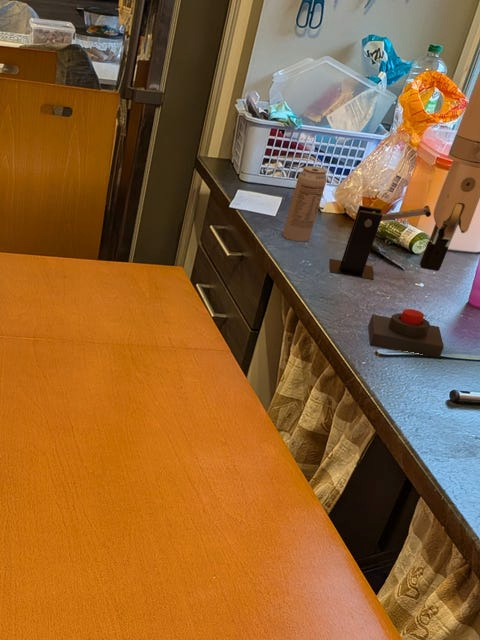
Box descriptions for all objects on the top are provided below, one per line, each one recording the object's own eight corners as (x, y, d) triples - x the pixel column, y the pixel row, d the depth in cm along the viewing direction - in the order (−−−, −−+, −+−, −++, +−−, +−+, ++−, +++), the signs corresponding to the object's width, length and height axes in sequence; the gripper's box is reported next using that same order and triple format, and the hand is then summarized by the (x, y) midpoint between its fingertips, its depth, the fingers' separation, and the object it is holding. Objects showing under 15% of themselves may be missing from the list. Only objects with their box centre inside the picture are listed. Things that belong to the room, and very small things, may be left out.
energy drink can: (307, 239, 211) (328, 168, 201) (308, 247, 207) (329, 174, 197) (281, 235, 212) (300, 163, 202) (281, 243, 207) (301, 170, 198)
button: (419, 320, 167) (423, 311, 166) (421, 327, 164) (425, 318, 163) (399, 317, 167) (402, 307, 166) (400, 324, 165) (404, 314, 163)
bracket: (370, 271, 197) (392, 208, 189) (372, 285, 191) (394, 220, 182) (328, 264, 199) (347, 200, 190) (327, 277, 192) (348, 212, 184)
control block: (434, 338, 171) (443, 316, 168) (439, 358, 163) (448, 336, 161) (368, 325, 173) (375, 304, 170) (369, 345, 165) (377, 323, 162)
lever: (428, 213, 186) (429, 201, 185) (430, 220, 183) (431, 207, 181) (360, 223, 191) (360, 211, 189) (360, 230, 187) (360, 217, 186)
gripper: (506, 166, 142) (455, 286, 153) (493, 145, 153) (447, 259, 165) (455, 157, 143) (409, 277, 155) (446, 137, 154) (404, 251, 166)
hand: (429, 267), depth 160 cm, fingers closed
